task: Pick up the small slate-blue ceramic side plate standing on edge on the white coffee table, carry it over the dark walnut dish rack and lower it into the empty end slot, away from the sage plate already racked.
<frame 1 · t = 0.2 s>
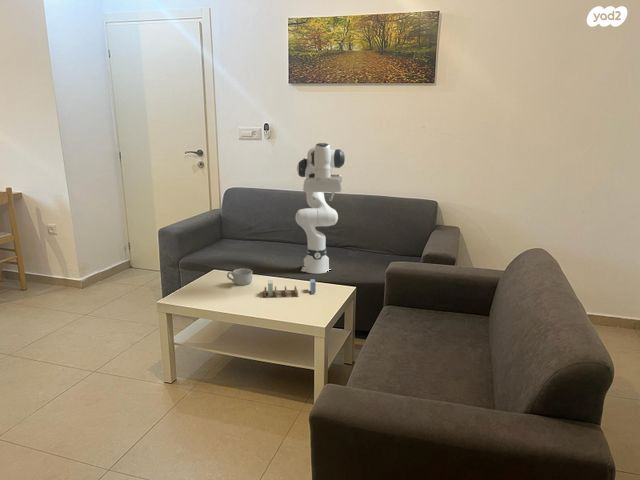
hand: (322, 200, 250), 47 cm above the table, fingers open, 8 cm apart
sage plate: (270, 294, 240), point 1 cm above the table, touching rack
teacup: (240, 285, 259), on the table
blue plate: (312, 292, 247), on the table
rack: (280, 295, 241), on the table
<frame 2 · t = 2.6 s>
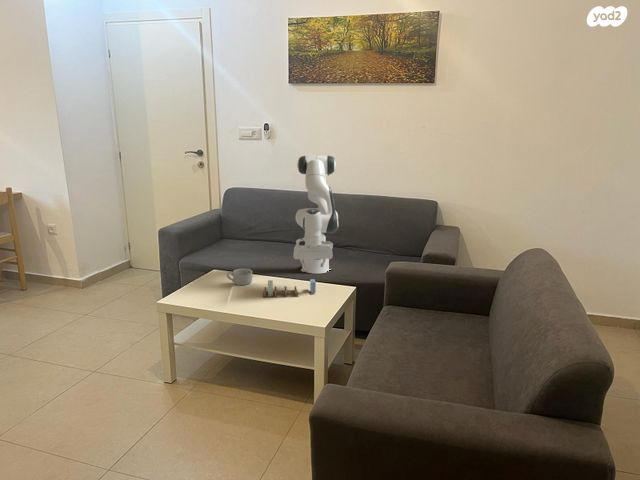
hand: (312, 267, 243), 14 cm above the table, fingers open, 8 cm apart
nothing on the table moved.
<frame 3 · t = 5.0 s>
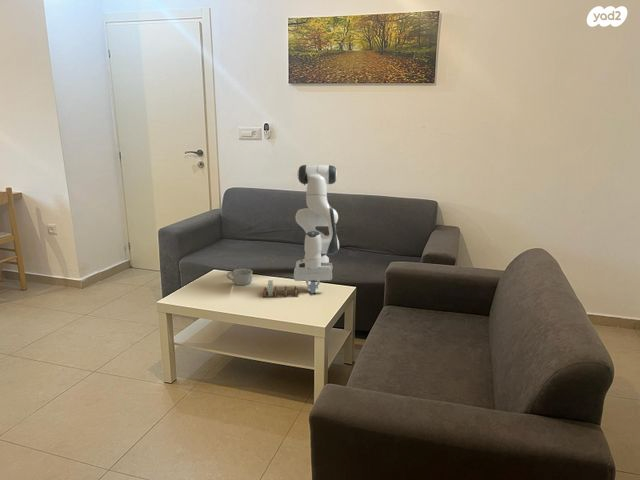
hand: (312, 288, 246), 2 cm above the table, fingers closed on blue plate, 2 cm apart
blue plate: (312, 292, 247), on the table, touching gripper
everything else where it was.
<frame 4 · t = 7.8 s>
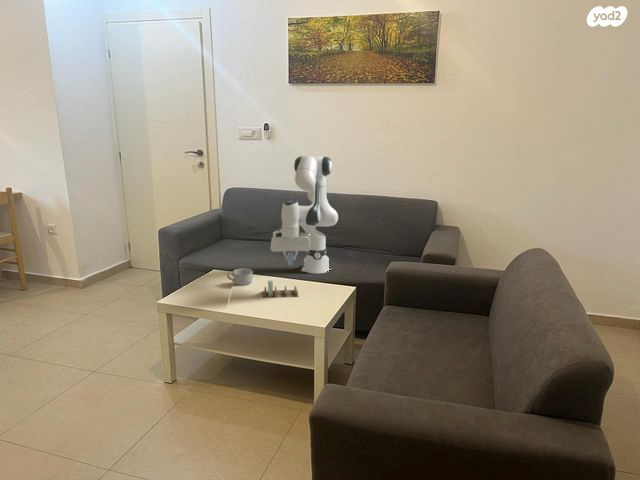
hand: (290, 259, 238), 19 cm above the table, fingers closed on blue plate, 2 cm apart
blue plate: (290, 264, 238), point 17 cm above the table, touching gripper
everything else where it was.
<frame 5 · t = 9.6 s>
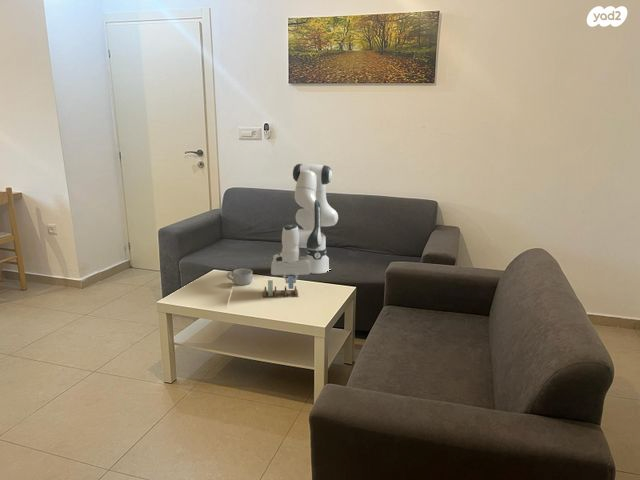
hand: (290, 282, 240), 7 cm above the table, fingers closed on blue plate, 2 cm apart
blue plate: (290, 287, 241), point 5 cm above the table, touching gripper
everything else where it was.
when the fingers open (4 cm above the table, at t = 10.9 s): blue plate stays where it is, resting on rack.
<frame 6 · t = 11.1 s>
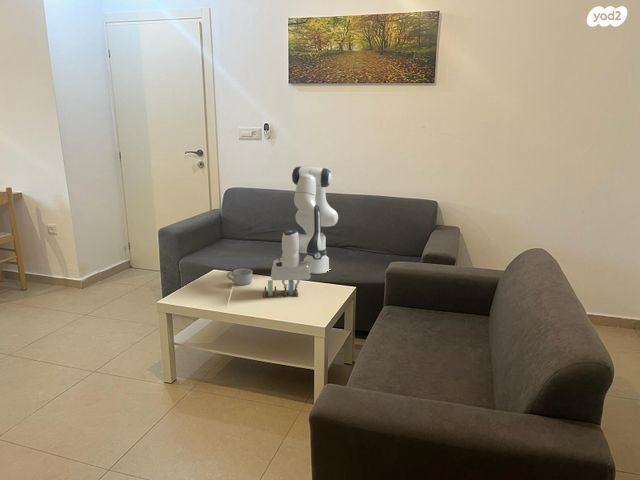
hand: (290, 287, 241), 4 cm above the table, fingers open, 4 cm apart
blue plate: (290, 293, 241), point 1 cm above the table, touching rack
everything else where it was.
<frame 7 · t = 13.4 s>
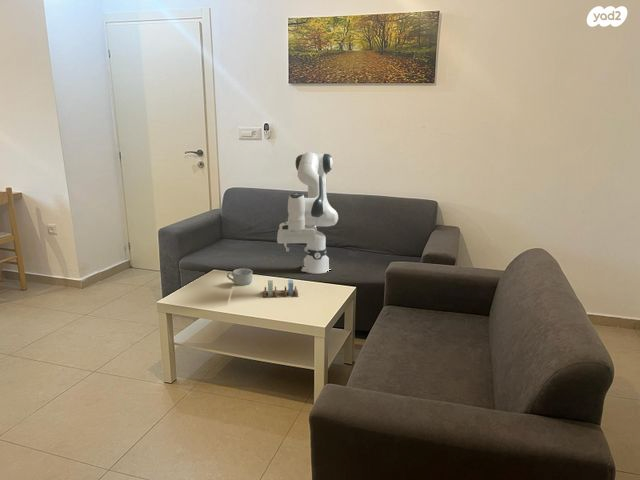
hand: (296, 251, 242), 22 cm above the table, fingers open, 8 cm apart
nothing on the table moved.
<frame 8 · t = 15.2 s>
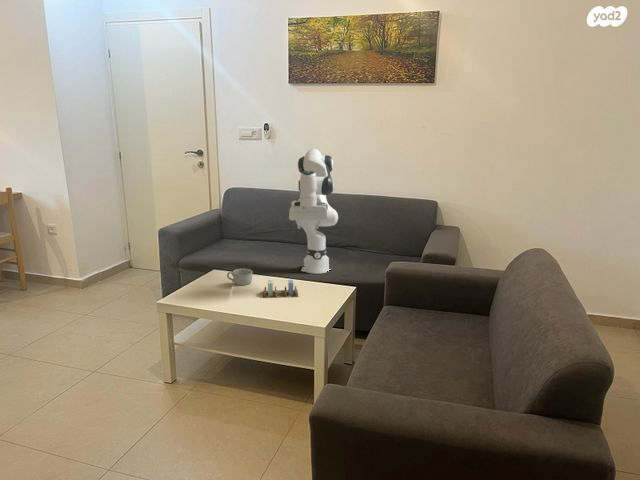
hand: (308, 228, 247), 33 cm above the table, fingers open, 8 cm apart
nothing on the table moved.
at the end: blue plate inside the target area on the rack (0.0 cm from its centre), point 1.0 cm above the rack's base; blue plate tilted 0°; the gripper is holding nothing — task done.
